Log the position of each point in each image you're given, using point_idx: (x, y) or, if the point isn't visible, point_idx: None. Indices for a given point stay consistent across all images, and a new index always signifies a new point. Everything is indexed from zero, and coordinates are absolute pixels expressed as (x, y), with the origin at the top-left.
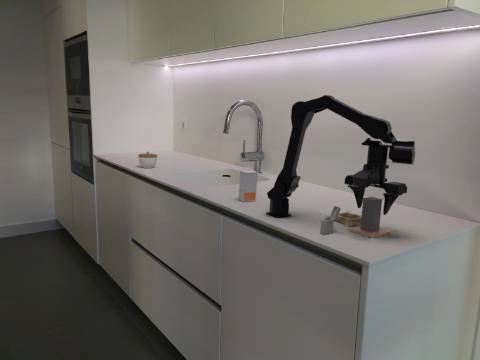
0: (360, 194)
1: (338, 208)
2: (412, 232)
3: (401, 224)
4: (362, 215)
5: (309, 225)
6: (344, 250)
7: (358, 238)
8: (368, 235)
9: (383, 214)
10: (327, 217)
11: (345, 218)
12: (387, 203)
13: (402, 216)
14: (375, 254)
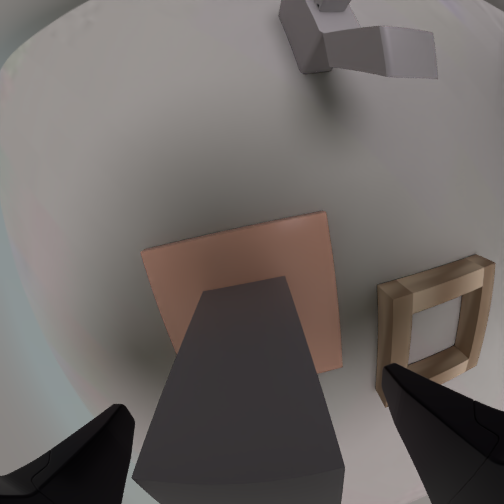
0: (448, 473)
1: (374, 33)
2: None
3: None
4: (290, 323)
5: (443, 72)
6: (74, 17)
7: (161, 156)
8: (172, 243)
9: (122, 404)
10: None
11: (432, 286)
12: (38, 458)
13: (349, 494)
14: (8, 114)
